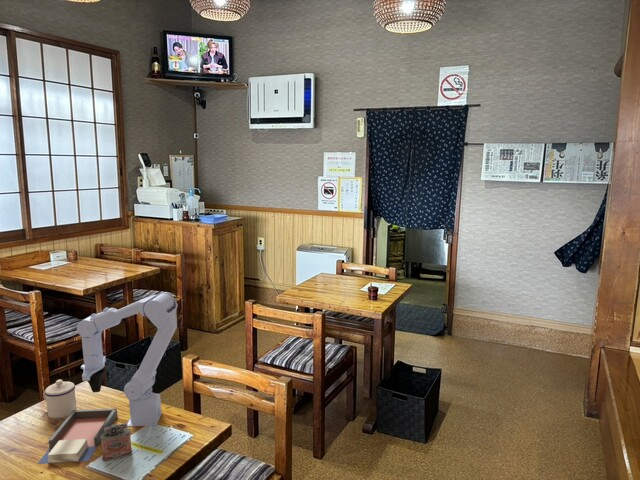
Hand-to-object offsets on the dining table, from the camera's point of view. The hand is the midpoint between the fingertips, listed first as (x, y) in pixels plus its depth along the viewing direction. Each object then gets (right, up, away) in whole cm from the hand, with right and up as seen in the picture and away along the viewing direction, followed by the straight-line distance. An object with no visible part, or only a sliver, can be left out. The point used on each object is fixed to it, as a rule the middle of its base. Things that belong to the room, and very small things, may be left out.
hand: (96, 391), depth 157 cm
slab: (+1, -12, -19) cm, 23 cm away
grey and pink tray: (0, -11, -7) cm, 13 cm away
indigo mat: (+1, -13, -19) cm, 23 cm away
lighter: (+15, -13, -19) cm, 28 cm away
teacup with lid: (-15, -9, +5) cm, 18 cm away
